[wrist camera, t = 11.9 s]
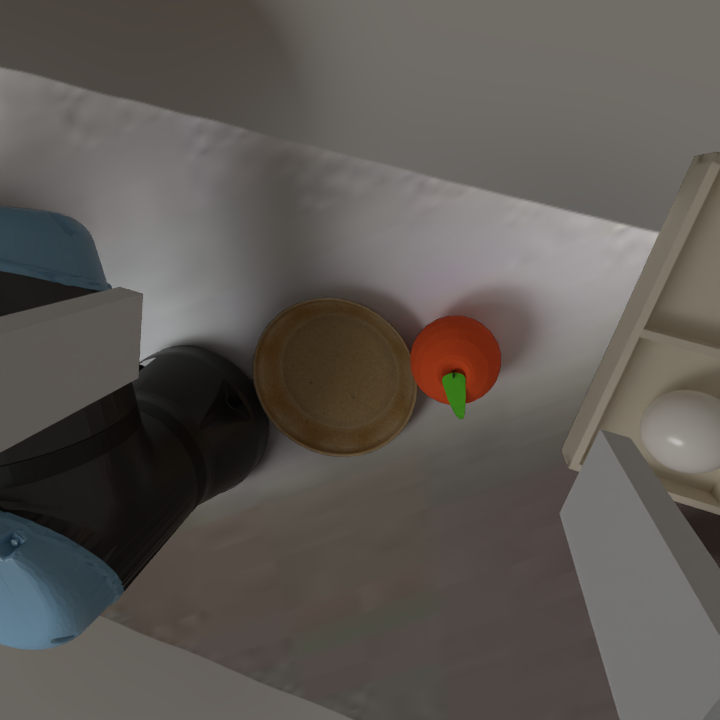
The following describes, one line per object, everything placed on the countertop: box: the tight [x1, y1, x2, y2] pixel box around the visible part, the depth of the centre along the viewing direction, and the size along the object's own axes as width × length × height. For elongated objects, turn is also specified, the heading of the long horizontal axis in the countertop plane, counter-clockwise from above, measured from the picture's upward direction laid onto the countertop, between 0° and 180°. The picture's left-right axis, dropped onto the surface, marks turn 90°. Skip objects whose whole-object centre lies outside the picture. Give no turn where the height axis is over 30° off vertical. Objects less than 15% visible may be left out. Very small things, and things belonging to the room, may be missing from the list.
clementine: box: [410, 316, 501, 419], centre depth 36 cm, size 8×7×7 cm
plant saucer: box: [253, 298, 417, 457], centre depth 41 cm, size 15×15×3 cm
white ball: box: [640, 390, 720, 474], centre depth 34 cm, size 6×6×6 cm
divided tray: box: [562, 152, 720, 515], centre depth 34 cm, size 12×24×3 cm, turn 167°
